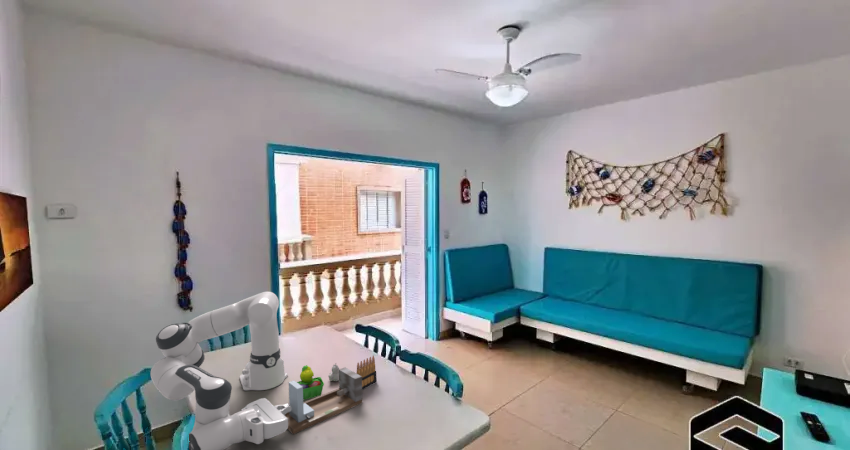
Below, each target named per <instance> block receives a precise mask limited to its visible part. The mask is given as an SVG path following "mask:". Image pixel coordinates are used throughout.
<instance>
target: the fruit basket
mask: <svg viewBox="0 0 850 450" xmlns="http://www.w3.org/2000/svg"><path fill="white" fill-rule="evenodd" d="M301 368H302V369H301V372H300V375H299V378H300V380H298V381H296V382H297V383H298V384H300V385H301V386H302V387H303V401H305V400H308V399H309V400H310V399H313V398H316V397H318V396H321V395H322V393H323V388H324V386H325V383H324V381H323V379H322V377H321V376H316V377H314V374H315V373H314V371H313V370H312V368H311V366H309V365H308V364H307V365H304V366H302V367H301ZM313 377H314V378H313Z"/></svg>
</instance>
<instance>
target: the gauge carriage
mask: <svg viewBox="0 0 850 450" xmlns="http://www.w3.org/2000/svg"><path fill="white" fill-rule="evenodd" d="M297 382H298V381H295V379H293V380H291V381H288V405H290V406H291V411H290V412H289V413H290V416H292V417H293V418H294V419H295V420H296V421H297V422H298V423H299V422H301V421H303V420H305V419H309V420H310V417H312V416H314V410H313V409H312V408H311V407H309V406H308V405H307V404H306V403H304V404H303V402H304V400H303V387H302V386H301V385H300V384H298V383H297Z"/></svg>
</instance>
